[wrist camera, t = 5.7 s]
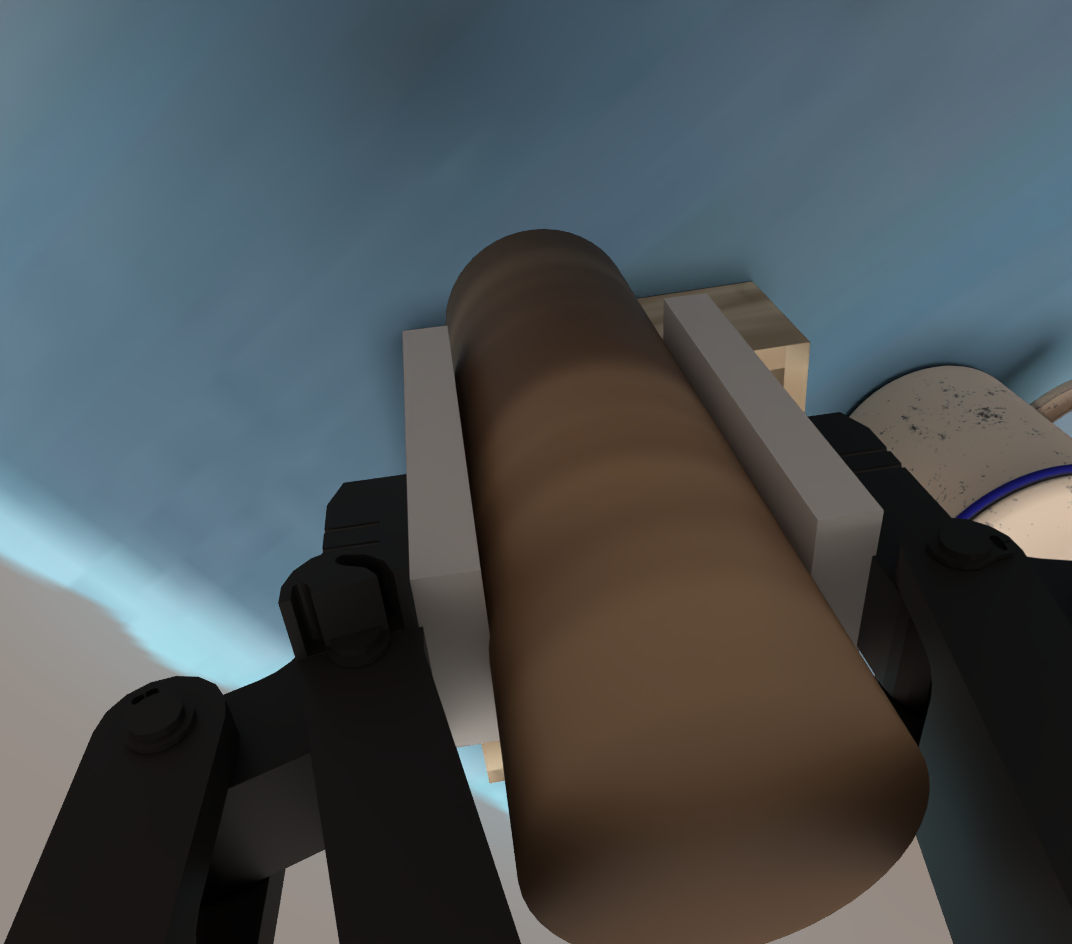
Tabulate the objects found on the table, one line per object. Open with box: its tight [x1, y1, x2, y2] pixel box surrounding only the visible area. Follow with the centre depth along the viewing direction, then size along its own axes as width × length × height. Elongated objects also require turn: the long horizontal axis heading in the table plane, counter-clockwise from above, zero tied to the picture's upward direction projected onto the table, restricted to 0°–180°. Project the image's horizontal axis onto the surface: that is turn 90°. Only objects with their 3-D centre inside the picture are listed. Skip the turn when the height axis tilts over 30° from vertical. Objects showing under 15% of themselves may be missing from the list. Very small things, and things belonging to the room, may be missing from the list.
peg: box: [446, 229, 930, 944], centre depth 13 cm, size 4×4×12 cm
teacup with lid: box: [849, 366, 1072, 560], centre depth 33 cm, size 12×9×12 cm
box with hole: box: [482, 282, 810, 783], centre depth 36 cm, size 19×13×6 cm
